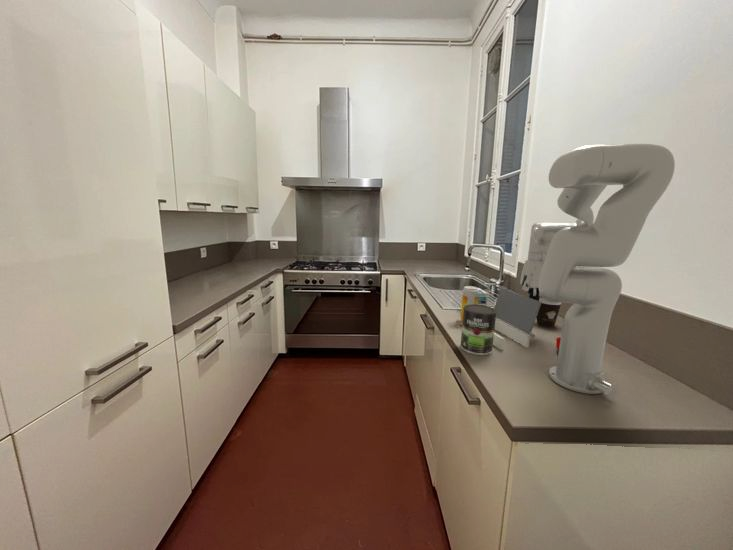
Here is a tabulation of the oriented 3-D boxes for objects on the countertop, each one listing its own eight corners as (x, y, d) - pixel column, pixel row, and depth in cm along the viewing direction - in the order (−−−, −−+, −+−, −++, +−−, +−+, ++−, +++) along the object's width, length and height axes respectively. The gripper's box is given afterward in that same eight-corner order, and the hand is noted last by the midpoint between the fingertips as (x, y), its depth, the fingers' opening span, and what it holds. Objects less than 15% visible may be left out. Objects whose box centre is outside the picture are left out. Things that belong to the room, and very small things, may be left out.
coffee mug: (557, 323, 124) (561, 300, 122) (557, 330, 117) (561, 306, 115) (526, 318, 130) (529, 296, 128) (524, 324, 123) (527, 301, 121)
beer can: (473, 319, 126) (476, 286, 123) (477, 325, 120) (480, 289, 117) (459, 319, 127) (461, 285, 124) (462, 324, 121) (465, 289, 118)
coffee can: (491, 358, 93) (496, 315, 90) (458, 351, 97) (461, 310, 94) (493, 345, 102) (497, 306, 99) (462, 340, 106) (465, 302, 104)
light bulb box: (486, 316, 132) (488, 293, 130) (471, 316, 132) (473, 293, 130) (478, 309, 143) (480, 287, 140) (464, 308, 143) (465, 287, 140)
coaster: (483, 325, 121) (483, 324, 120) (463, 327, 119) (463, 326, 118) (471, 318, 129) (471, 317, 129) (452, 319, 127) (452, 319, 127)
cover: (528, 334, 100) (530, 335, 101) (539, 301, 99) (542, 302, 99) (491, 315, 119) (494, 316, 119) (500, 287, 117) (503, 288, 118)
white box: (533, 348, 100) (535, 334, 99) (503, 352, 97) (505, 337, 96) (490, 324, 122) (491, 312, 121) (465, 326, 119) (466, 314, 118)
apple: (570, 332, 101) (556, 327, 98) (589, 343, 95) (575, 338, 92) (558, 348, 103) (545, 344, 99) (576, 360, 97) (563, 356, 93)
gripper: (548, 255, 112) (541, 301, 116) (514, 256, 109) (509, 303, 113) (565, 258, 105) (557, 307, 109) (530, 259, 102) (523, 309, 106)
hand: (533, 305), depth 111 cm, fingers closed
